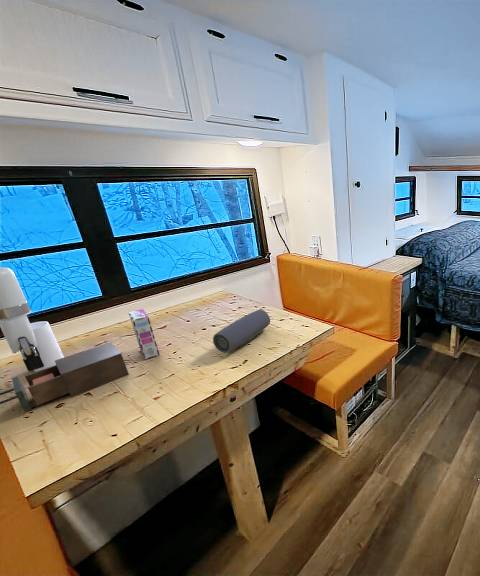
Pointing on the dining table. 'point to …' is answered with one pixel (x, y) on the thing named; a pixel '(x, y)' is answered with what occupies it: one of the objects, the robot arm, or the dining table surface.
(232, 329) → the bluetooth speaker
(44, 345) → the cup
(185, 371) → the dining table surface
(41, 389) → the drawer
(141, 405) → the dining table surface
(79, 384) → the cabinet
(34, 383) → the block
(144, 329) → the candy bar box
